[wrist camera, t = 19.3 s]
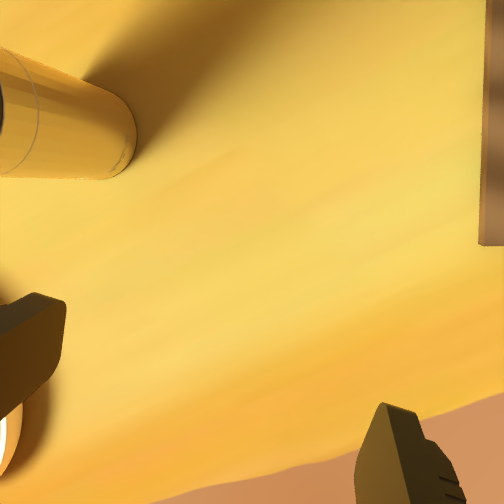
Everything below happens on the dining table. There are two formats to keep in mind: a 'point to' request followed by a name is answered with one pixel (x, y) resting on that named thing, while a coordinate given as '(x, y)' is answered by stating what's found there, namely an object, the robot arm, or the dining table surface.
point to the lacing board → (493, 130)
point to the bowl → (9, 436)
